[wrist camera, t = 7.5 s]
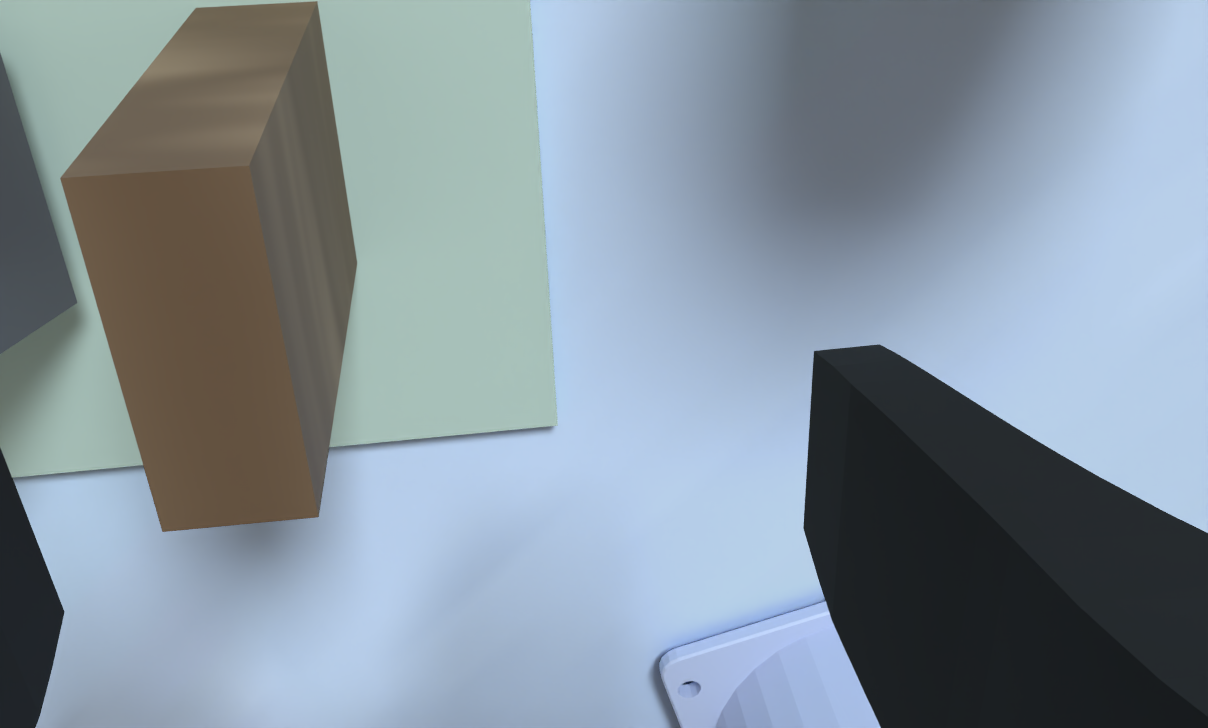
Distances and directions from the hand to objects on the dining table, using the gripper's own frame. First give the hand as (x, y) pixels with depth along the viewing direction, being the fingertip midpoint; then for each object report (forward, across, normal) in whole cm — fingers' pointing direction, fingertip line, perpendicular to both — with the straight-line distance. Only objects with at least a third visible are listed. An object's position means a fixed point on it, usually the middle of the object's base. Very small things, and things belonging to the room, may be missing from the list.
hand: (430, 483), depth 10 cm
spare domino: (+10, +2, 0) cm, 10 cm away
